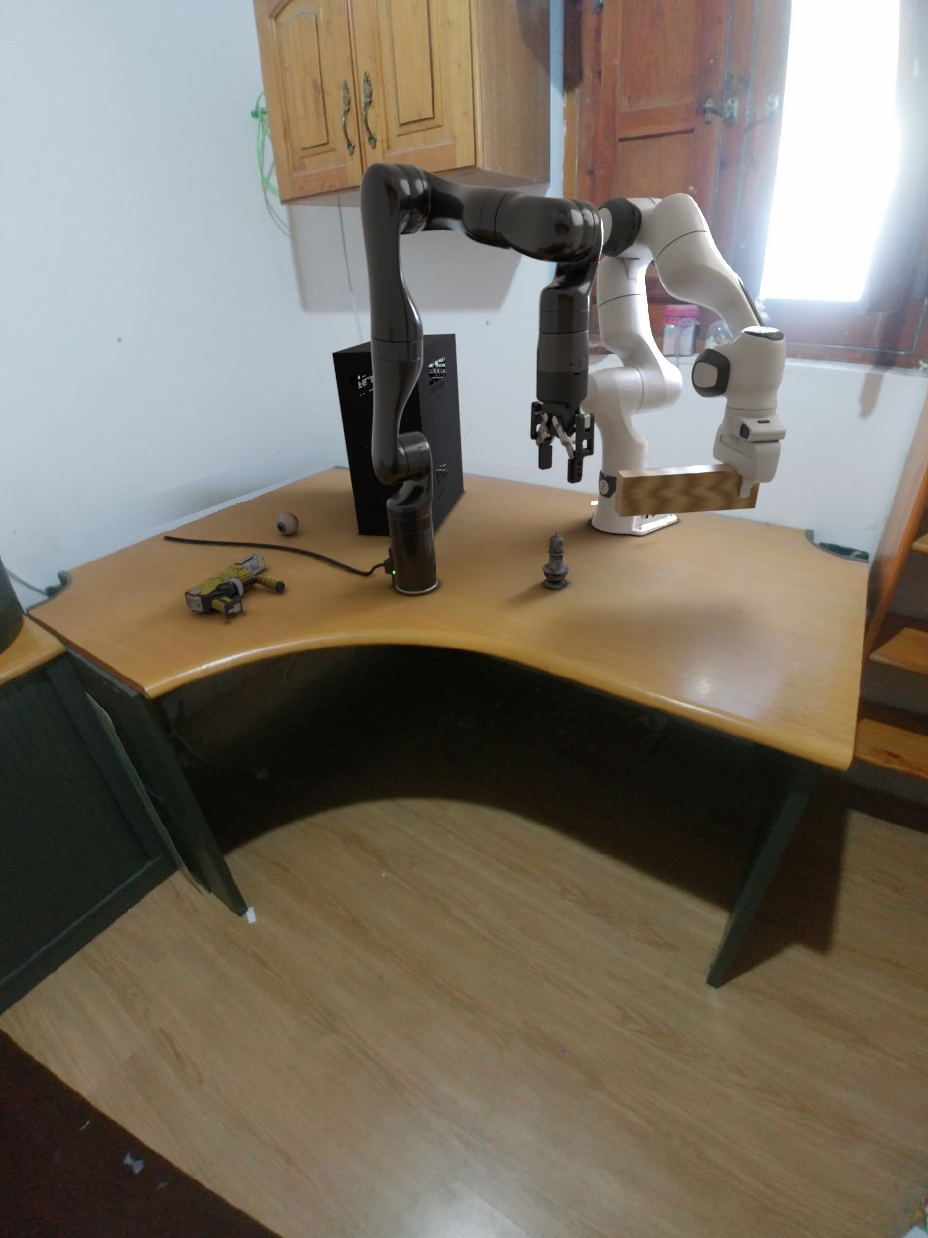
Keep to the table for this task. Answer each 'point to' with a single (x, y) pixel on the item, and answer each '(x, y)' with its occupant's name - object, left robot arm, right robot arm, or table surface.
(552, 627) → the table surface
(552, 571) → the weathered chess pawn
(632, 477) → the bar
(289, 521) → the eyeball
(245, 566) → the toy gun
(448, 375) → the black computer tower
